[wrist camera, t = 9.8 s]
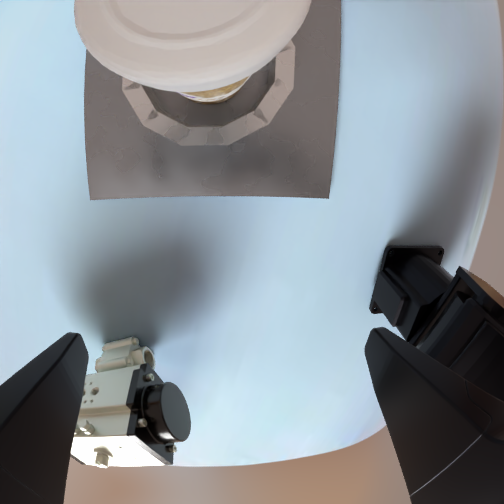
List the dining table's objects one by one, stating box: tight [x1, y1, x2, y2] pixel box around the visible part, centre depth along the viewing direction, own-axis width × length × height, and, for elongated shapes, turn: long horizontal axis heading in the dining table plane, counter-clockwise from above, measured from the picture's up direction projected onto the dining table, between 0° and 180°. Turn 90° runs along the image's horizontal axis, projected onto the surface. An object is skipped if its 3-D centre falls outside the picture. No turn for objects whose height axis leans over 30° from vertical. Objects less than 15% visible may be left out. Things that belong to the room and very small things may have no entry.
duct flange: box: [84, 0, 341, 200], centre depth 14 cm, size 16×16×3 cm
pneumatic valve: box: [70, 337, 191, 468], centre depth 19 cm, size 6×12×12 cm, turn 108°
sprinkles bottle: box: [74, 0, 312, 104], centre depth 9 cm, size 5×5×14 cm
